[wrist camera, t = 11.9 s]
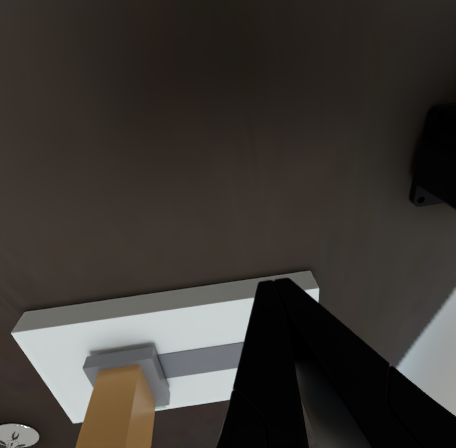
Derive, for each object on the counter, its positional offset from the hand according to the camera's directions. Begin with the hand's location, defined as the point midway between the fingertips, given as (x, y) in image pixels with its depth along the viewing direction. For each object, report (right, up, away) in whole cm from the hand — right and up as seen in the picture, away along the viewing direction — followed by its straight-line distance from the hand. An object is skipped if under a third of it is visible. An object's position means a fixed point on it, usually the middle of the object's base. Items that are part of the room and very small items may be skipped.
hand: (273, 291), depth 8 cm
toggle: (-9, -10, +16) cm, 21 cm away
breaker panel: (-5, -8, +18) cm, 21 cm away
